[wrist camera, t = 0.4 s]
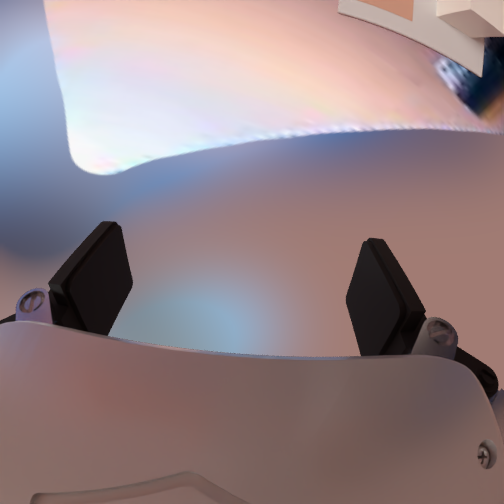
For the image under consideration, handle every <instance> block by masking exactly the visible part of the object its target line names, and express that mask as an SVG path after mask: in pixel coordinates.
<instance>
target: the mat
mask: <svg viewBox="0 0 504 504" xmlns="http://www.w3.org/2000/svg"><path fill="white" fill-rule="evenodd" d="M338 13H339V14H343V15H346V16H350V17H353V18H356V19H360V20H363V21H366V22H369V23H372V24H374V25H377V26H380V27H383V28H385V29H388V30H390V31H393V32H395V33H398V34H400V35H403V36H405V37H407V38H409V39H412V40H414V41H416V42H418V43H420V44H422V45H424V46H427V47H429V48H431V49H432V50H434V51H436V52H438V53H440V54H442V55H444V56H446V57H447V58H449V59H451V60H453V61H454V62H456V63H458V64H459V65H461V66H463V67H464V68H466V69H468V70H469V71H471V72H472V73H474V74H475V75H477V76H478V77H482V68H483V57H484V37H475V38H471V37H469V36H468V35H466V34H465V33H463V32H461V31H460V30H458V29H457V28H455V27H453V26H452V25H450V24H448V23H447V22H445V21H443V20H441V19H440V18H438V17H437V0H339V4H338Z"/></svg>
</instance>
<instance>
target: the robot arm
mask: <svg viewBox="0 0 504 504" xmlns="http://www.w3.org/2000/svg"><path fill="white" fill-rule="evenodd" d="M48 284H49V287H50V291H49V292H47V291H46V290H45V289H43V288H35V289H31V290H30V291H27V292H26V293H25V294H23V295H22V296H21V297H20V299H19V300H18V302H17V304H16V314H13V315H11V316H9V317H7V318H5V319H3V320H1V321H0V504H504V390H503V389H501V390H500V391H498V379H497V376H496V374H495V373H494V371H493V370H492V369H491V368H490V367H488V366H487V365H486V364H484V363H482V362H481V361H479V360H478V359H476V358H475V357H473V356H472V355H470V354H468V353H467V352H465V351H464V350H462V349H460V348H459V347H457V344H458V336H457V332H456V331H455V329H454V328H453V327H452V325H451V324H449V323H448V322H447V321H445V320H443V319H441V318H437V317H431V318H428V319H427V318H426V316H425V315H424V313H425V312H426V310H425V308H424V306H423V304H422V303H421V301H420V299H419V297H418V295H417V294H416V292H415V290H414V288H413V287H412V285H411V283H410V281H409V280H408V278H407V276H406V275H405V273H404V271H403V269H402V268H401V266H400V265H399V263H398V261H397V260H396V258H395V257H394V255H393V253H392V252H391V250H390V249H389V247H388V245H387V244H386V242H385V241H384V240H383V239H377V238H369V239H368V240H367V241H364V242H363V244H362V247H361V250H360V254H359V257H358V261H357V264H356V267H355V270H354V273H353V277H352V280H351V283H350V286H349V289H348V292H347V295H346V304H347V308H348V311H349V315H350V318H351V321H352V325H353V328H354V332H355V336H356V339H357V343H358V347H359V350H360V354H361V356H350V357H294V356H268V355H249V354H235V353H223V352H213V351H202V350H194V349H186V348H178V347H170V346H162V345H156V344H150V343H143V342H137V341H131V340H125V339H120V338H114V337H110V336H108V334H109V332H110V329H111V328H112V326H113V323H114V322H115V320H116V318H117V316H118V313H119V312H120V310H121V308H122V306H123V304H124V302H125V300H126V298H127V296H128V294H129V292H130V291H131V288H132V285H133V280H132V275H131V271H130V267H129V262H128V258H127V253H126V249H125V244H124V239H123V234H122V229H121V226H119V225H118V224H117V223H116V222H110V221H103V222H101V223H100V224H99V225H98V226H97V227H96V229H94V230H93V232H92V233H91V234H90V235H89V236H88V237H87V238H86V239H85V240H84V241H83V242H82V244H81V245H80V246H79V247H78V248H77V249H76V250H75V251H74V253H73V254H72V255H71V256H70V257H69V258H68V259H67V261H66V262H65V263H64V264H63V265H62V267H61V268H60V269H59V270H58V271H57V273H56V274H55V275H54V277H52V279H51V280H50V281H49V283H48Z"/></svg>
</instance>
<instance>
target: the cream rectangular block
mask: <svg viewBox="0 0 504 504" xmlns="http://www.w3.org/2000/svg"><path fill="white" fill-rule="evenodd" d="M437 17H438V18H440V19H441V20H443V21H445V22H447V23H448V24H450V25H452V26H453V27H455V28H457V29H458V30H460V31H461V32H463V33H465V34H466V35H468V36H469V37H471V38H475V37H504V0H437Z"/></svg>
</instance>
